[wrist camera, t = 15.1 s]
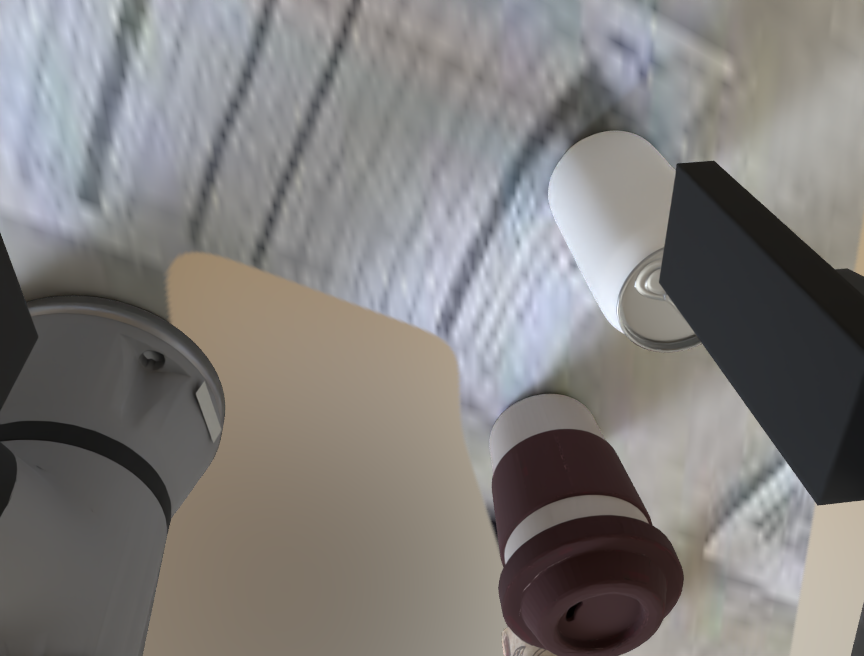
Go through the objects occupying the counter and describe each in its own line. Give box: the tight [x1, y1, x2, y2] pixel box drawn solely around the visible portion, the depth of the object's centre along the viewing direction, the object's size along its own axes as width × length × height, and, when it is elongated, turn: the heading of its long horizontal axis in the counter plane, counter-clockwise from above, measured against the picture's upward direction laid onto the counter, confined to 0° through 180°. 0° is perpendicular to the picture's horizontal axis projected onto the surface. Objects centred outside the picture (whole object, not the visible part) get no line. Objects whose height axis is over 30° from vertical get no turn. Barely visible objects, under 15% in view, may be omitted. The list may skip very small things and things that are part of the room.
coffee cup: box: [489, 394, 684, 656], centre depth 47 cm, size 10×10×15 cm
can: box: [548, 131, 702, 352], centre depth 39 cm, size 6×6×12 cm
